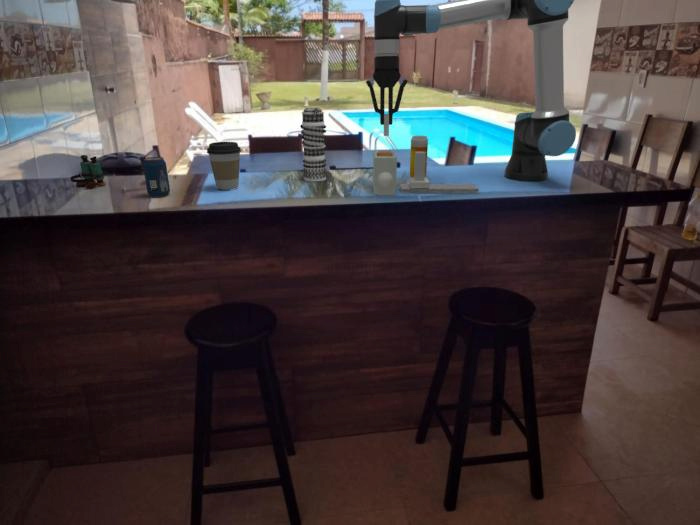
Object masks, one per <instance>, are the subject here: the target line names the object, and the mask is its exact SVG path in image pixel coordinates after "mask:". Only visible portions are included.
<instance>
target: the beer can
mask: <svg viewBox="0 0 700 525" xmlns="http://www.w3.org/2000/svg"><path fill="white" fill-rule="evenodd" d="M428 148H429V138H428V136H426V135H412V137H411V138H410V153H409V154H410V157H409V159H410V160H409V178H414V171H415V152H425V153H426V157H425V177H424V178H427V171H428V170H427V166H428Z"/></svg>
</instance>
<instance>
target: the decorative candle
mask: <svg viewBox="0 0 700 525" xmlns="http://www.w3.org/2000/svg"><path fill="white" fill-rule="evenodd" d="M301 114H302V122H301V124H300V126H299V127H300V129H302V130H301V131H300V134H301V136H300V137H301V139H302V141H301V144H302V148H303V160H302V162H303V165H302V167H304V168H303V169H302V172H303V174H302V176H303V180H304V181H307V182H322V181H325V180H327V177H326V176H327V164H326V162H327V159H326V154H325V148H326V146H327V145H326V144H325V143H327V140H325V139H326V138H327V135H325V133H327V130H326V128H327V125H325V118H324V117H325V116H324V114H325V111H323V110H322V108H320V107H307V108H304V109H303V111H302V112H301Z"/></svg>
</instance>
